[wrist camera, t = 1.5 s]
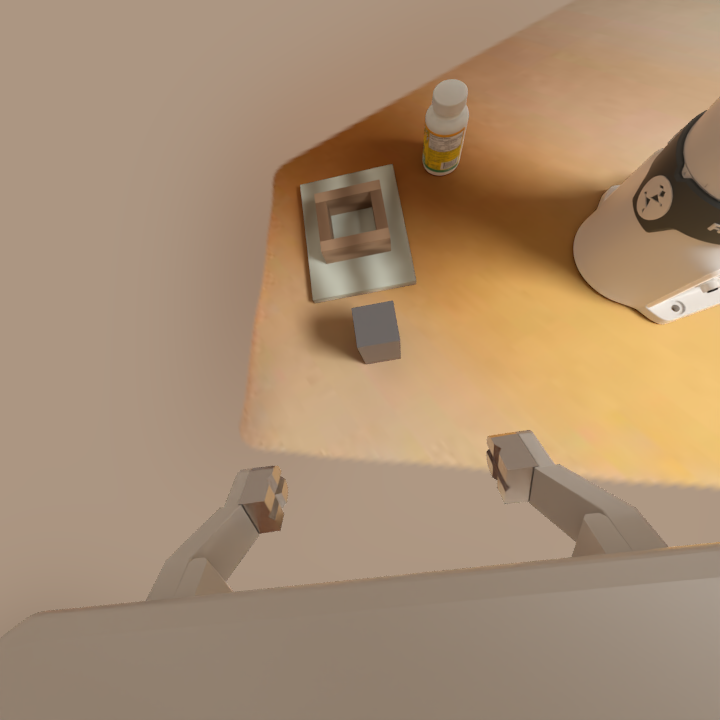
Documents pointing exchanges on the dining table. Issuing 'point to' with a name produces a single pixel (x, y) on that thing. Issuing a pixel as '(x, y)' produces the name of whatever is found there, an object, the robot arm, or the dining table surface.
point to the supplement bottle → (445, 127)
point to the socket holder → (356, 235)
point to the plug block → (377, 332)
